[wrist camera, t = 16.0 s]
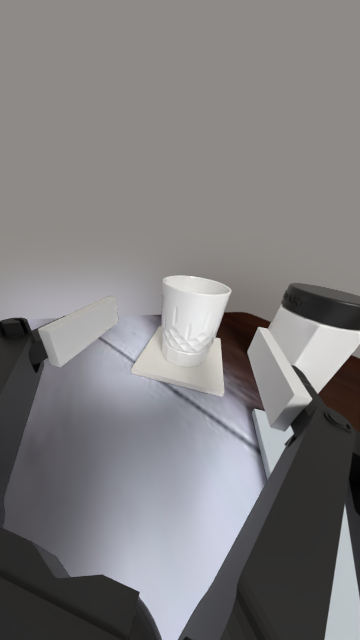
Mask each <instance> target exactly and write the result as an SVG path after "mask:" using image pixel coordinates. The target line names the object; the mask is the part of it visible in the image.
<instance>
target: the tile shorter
mask: <svg viewBox="0 0 360 640" xmlns="http://www.w3.org/2000/svg"><path fill="white" fill-rule="evenodd" d="M131 374H135V375H139V376H143V377H147V378H151V379H154V380H158V381H162V382H166V383H170V384H173V385H177V386H181V387H185V388H189V389H193V390H196V391H200V392H204V393H208V394H212V395H216V396H219V397H223V395H224V382H223V369H222V356H221V343H220V338H215V339H214V342H213V344H212V345H211V348H210V350H209V353H208V356H207V359H206V361H205V362H204V363H202V364H201V365H199V366H196V367H189V368H187V367H182V366H177V365H175V364H173V363H171V362H170V361H168V360H167V359H166V358H165V356H164V355H163V353H162V326H159V328H158V329H157V331H156V332H155V334H154V335H153V337H152V338H151V340H150V341H149V343H148V344H147V346H146V347H145V349H144V350H143V352H142V353H141V355H140V356H139V358H138V359H137V361H136V362H135V364H134V365H133V367H132V368H131Z"/></svg>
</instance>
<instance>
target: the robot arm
mask: <svg viewBox="0 0 360 640" xmlns="http://www.w3.org/2000/svg"><path fill="white" fill-rule="evenodd" d="M117 323H118V314H117V298H116V297H113V296H107V297H105V298H103V299H101V300H99V301H97V302H95V303H93V304H90V305H88V306H86V307H84V308H82V309H80V310H77V311H75V312H73V313H71V314H69V315H67V316H63V317H61V318H59V319H57V320H54V321H52V322H51V323H48V324H46V325H44V326H41V327H39V328H37V329H35V330H33V331H31V329H30V326H29V324H28V321H27V319H25V318H10V319H5V320H2V321H0V640H162V638H161V635H160V633H159V631H158V628H157V626H156V623H155V621H154V619H153V617H152V615H151V614H150V612H149V610H148V608H147V607H146V605H145V604H144V603H143V601H142V600H141V599H140V598H139V592H138V591H136V590H134V589H132V588H130V587H128V586H125V585H123V584H121V583H119V582H117V581H115V580H113V579H110V578H108V577H106V576H104V575H93V576H81V577H70V576H69V574H68V573H67V572H66V570H65V569H64V567H63V566H62V564H61V563H60V561H59V560H58V559H57V557H56V556H54V555H53V554H51V553H49V552H48V551H46V550H44V549H43V548H41V547H39V546H38V545H36V544H35V543H33V542H31V541H29V540H27V539H25V538H22V537H20V536H18V535H16V534H14V533H12V532H10V531H7V530H5V529H3V524H4V516H5V510H4V496H5V492H6V488H7V485H8V482H9V479H10V475H11V472H12V469H13V465H14V462H15V459H16V456H17V452H18V449H19V446H20V442H21V439H22V436H23V433H24V429H25V426H26V423H27V419H28V416H29V413H30V410H31V406H32V403H33V400H34V397H35V393H36V390H37V387H38V383H39V380H40V377H41V374H42V370H43V367H44V362H43V360H45V359H46V358H48V359H49V362H50V365H54V366H57V367H62V366H63V365H64V364H65V363H67V362H68V361H69V360H71V359H72V358H73V357H74V356H76V355H77V354H78V353H79V352H81V351H82V350H83V349H85V348H86V347H87V346H88V345H90V344H91V343H92V342H94V341H95V340H96V339H97V338H99V337H100V336H101V335H103V334H104V333H105V332H106V331H108V330H109V329H110V328H111V327H113V326H114V325H115V324H117ZM247 353H248V356H249V359H250V363H251V366H252V369H253V373H254V376H255V379H256V383H257V386H258V389H259V392H260V396H261V399H262V402H263V406H264V409H265V412H266V416H267V419H268V422H269V425H270V428H273V429H277V430H280V431H284V432H285V431H286V430H287V429H288V428H289V426H291V428H292V430H293V433H294V434H293V435H292V436H291V437H290V438H289V439H288V441H287V442H286V443H285V444H284V445H285V446H286V447H285V449H284V450H283V452H282V454H281V456H280V458H279V460H278V462H277V463H276V465H275V467H274V469H273V471H272V473H271V475H270V477H269V478H268V480H267V482H266V484H265V486H264V488H263V490H262V491H261V493H260V495H259V497H258V499H257V501H256V503H255V504H254V506H253V508H252V510H251V512H250V514H249V516H248V517H247V519H246V521H245V523H244V525H243V527H242V529H241V531H240V532H239V534H238V536H237V538H236V540H235V542H234V544H233V545H232V547H231V549H230V551H229V553H228V555H227V557H226V558H225V560H224V562H223V564H222V566H221V568H220V570H219V572H218V573H217V575H216V577H215V579H214V581H213V583H212V584H211V586H210V588H209V589H208V591H207V592H206V594H205V595H204V596H203V598H202V599H201V600H200V602H199V603H198V605H197V607H196V608H195V610H194V612H193V613H192V615H191V617H190V619H189V620H188V622H187V624H186V626H185V628H184V629H183V631H182V633H181V635H180V637H179V639H178V640H325V633H326V627H327V620H328V613H329V607H330V600H331V593H332V587H333V580H334V573H335V567H336V560H337V553H338V547H339V540H340V533H341V527H342V520H343V513H344V507H346V514H347V520H348V527H349V533H350V539H351V546H352V552H353V559H354V565H355V572H356V578H357V585H358V591H359V597H360V432H358V431H356V430H354V428H353V427H352V425H351V424H350V423H349V422H348V421H347V420H346V419H345V417H343V416H342V415H341V414H339V413H338V412H336V411H334V410H333V409H331V408H328V407H327V406H326V405H325V404H324V402H323V401H322V399H321V398H320V396H319V395H318V393H317V392H316V391H315V389H314V388H313V386H311V383H310V382H309V381H308V379H307V378H306V376H305V375H304V373H303V372H302V371H301V370H300V369H298V368H297V367H296V366H294V365H290V363H289V362H288V360H287V358H286V357H285V355H284V354H283V352H282V351H281V349H280V347H279V346H278V344H277V343H276V341H275V340H274V338H273V336H272V335H271V333H270V332H269V330H268V329H266V328H261V327H258V329H257V331H256V333H255V336H254V338H253V340H252V343H251V345H250V347H249V349H248V352H247ZM137 602H138V603H137ZM135 611H136V612H135ZM133 620H134V621H133Z"/></svg>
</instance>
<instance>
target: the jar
mask: <svg viewBox="0 0 360 640" xmlns="http://www.w3.org/2000/svg"><path fill="white" fill-rule="evenodd" d="M281 303H282V304H281V306H280V307H279V310H278V312H277V314H276V316H275V318H274V320H273V321H272V322H271V324H270V326H269V328H268V330H269V332H270V333H271V335H272V336H273V338H274V340H275V341H276V343H277V344H278V346H279V347H280V349H281V351H282V352H283V354H284V355H285V357H286V358H287V360H288V362H289V363H290V365H294V366H296V367H297V368H298V369H300V370H301V371H302V372H303V373H304V375H305V376H306V378H307V379H308V381H309V382H310V383H311V386H313V388H314V389H315V391H316V392H317V393H319V392H320V391H321V390H322V388H323V387H324V386H325V385H326V384H327V382H328V381H329V380H330V379H331V378H332V377H333V375H334V374H335V373H336V372H337V371H338V370H339V368H340V367H341V366H342V365H343V364H344V362H345V361H346V360H347V359H348V358H349V357H350V355H351V354H352V353H353V352H354V351H355V350H356V348H357V347H358V346H359V345H360V296H357V295H354V294H350V293H346V292H342V291H338V290H334V289H329V288H325V287H320V286H314V285H308V284H300V283H292V284H290V285H289V287H288V289H287V290H286V291H285V294H284V296H283V300H282V302H281Z"/></svg>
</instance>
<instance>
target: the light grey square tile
mask: <svg viewBox="0 0 360 640" xmlns="http://www.w3.org/2000/svg"><path fill="white" fill-rule="evenodd" d="M252 417H253V421H254V426H255V430H256V434H257V439H258V443H259V447H260V452H261V456H262V460H263V465H264V469H265V473H266V478H267V480H268V478H269V477H270V475H271V473H272V471H273V469H274V467H275V465H276V463H277V462H278V460H279V458H280V456H281V454H282V452H283V450H284V449H285V447H286V446H285V445H284V444H285V443H286V442H287V441H288V439H289V438H290V437H291V436H292V435H293V434H294V433H293V430H292V428H291V426H289V428H288V429H287V430H286V431H285V432H284V431H280V430H277V429H273V428H270V425H269V422H268V419H267V416H266V412H265V411H262V410H258V409H254V410H253V412H252ZM325 640H360V597H359V591H358V585H357V578H356V572H355V565H354V559H353V552H352V546H351V539H350V533H349V527H348V520H347V514H346V507H344V513H343V520H342V527H341V533H340V540H339V547H338V553H337V560H336V567H335V573H334V580H333V587H332V593H331V600H330V607H329V613H328V620H327V627H326V633H325Z"/></svg>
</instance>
